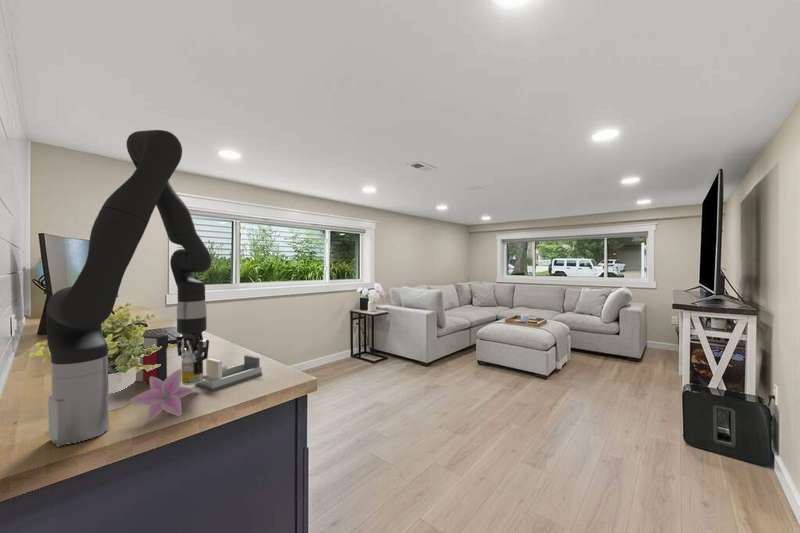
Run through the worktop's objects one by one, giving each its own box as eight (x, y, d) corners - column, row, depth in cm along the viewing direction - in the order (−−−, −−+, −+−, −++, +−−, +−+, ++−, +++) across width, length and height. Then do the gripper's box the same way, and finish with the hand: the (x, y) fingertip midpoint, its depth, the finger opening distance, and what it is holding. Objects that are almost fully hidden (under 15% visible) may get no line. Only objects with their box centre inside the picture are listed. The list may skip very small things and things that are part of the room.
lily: (123, 423, 83) (123, 396, 80) (155, 388, 94) (157, 362, 90) (173, 435, 85) (175, 409, 81) (199, 400, 96) (202, 374, 92)
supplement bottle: (190, 378, 104) (190, 347, 104) (207, 379, 104) (206, 347, 103) (177, 385, 99) (177, 351, 99) (194, 385, 98) (194, 352, 98)
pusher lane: (213, 390, 102) (213, 372, 102) (195, 384, 107) (195, 367, 107) (262, 374, 116) (262, 358, 116) (244, 369, 121) (244, 354, 121)
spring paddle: (218, 384, 105) (218, 361, 105) (206, 380, 108) (206, 358, 108) (231, 380, 108) (230, 358, 108) (219, 376, 112) (219, 355, 112)
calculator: (129, 382, 109) (128, 335, 109) (142, 377, 113) (141, 333, 113) (156, 385, 106) (156, 337, 106) (169, 380, 111) (168, 334, 110)
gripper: (218, 316, 100) (218, 372, 101) (192, 312, 108) (192, 365, 108) (191, 319, 94) (192, 380, 94) (165, 315, 101) (166, 371, 102)
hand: (192, 372), depth 101 cm, fingers closed on supplement bottle, 5 cm apart
